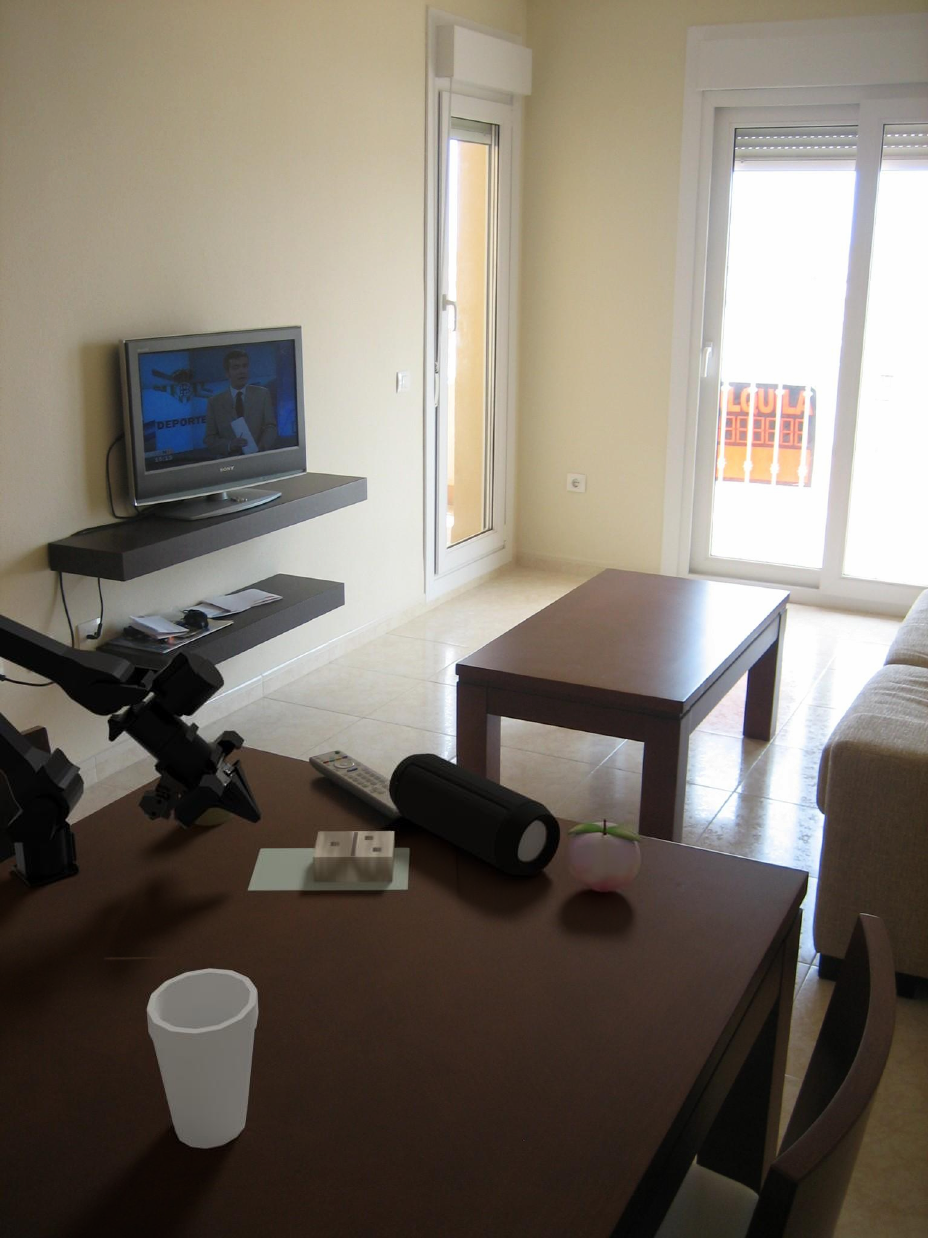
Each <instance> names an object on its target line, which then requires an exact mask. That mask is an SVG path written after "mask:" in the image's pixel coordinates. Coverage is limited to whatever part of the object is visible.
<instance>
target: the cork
mask: <svg viewBox="0 0 928 1238" xmlns="http://www.w3.org/2000/svg"><path fill="white" fill-rule="evenodd" d="M206 742H207V743H208V744H211V743H212V742H213V741H212V742H211V741H206ZM227 760H228V756H227V757H226V758H225V759H224V763H225V764H226V763H227ZM233 817H234V814H233V813H230V812H228V811H225V810H223V809H220V808H210V809H208V810H207V811H206V812H205V813H204V814H203V815H202V816H201V817H199V818H198V819H197V820H196V821H195V822H194V823H193V824H196V825H199V826H206V827H209V826H218V825H221V824H225V823H227V822H229V821H230V820H231V819H233Z"/></svg>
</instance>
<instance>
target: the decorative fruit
mask: <svg viewBox="0 0 928 1238" xmlns="http://www.w3.org/2000/svg"><path fill="white" fill-rule="evenodd" d="M568 835H573V836H572V837H571V839H570V841H569V844H568V848H567V852H566V862H567V863H566V864H567V866H568V870H569V872H570V873H571V875H573V877H574V878H575V879H576V880H577V881H579V883H581V884H582V885H584V886H586V887H587V888H589V889H591V890H593V891H596V892H600V893H608V892H612V891H616V890H617V889H621V888H623V887H624V886H626V885H627V884H629V883H630V882H631V881H633V879H635V877H636V876H637V874H638V873H639V872H640V869H641V864H642V862H641V861H642V858H641V850H640V845H639V844H638V843H643V842H644V841H643V840H642V839H641V837H640V836H639V834H637V832H635V831H634V830H632V829H631V828H630V827H628V826H623V825H619V824H617V823H614V822H613V823H612V822H608V821H607V819H606V818H603V821H599V822H597V821H596V822H592V823H591V822H585V823H581V824H578V825H576V826H574V827H573V828H571V829H570V830H568V831H567V832H566V836H568Z"/></svg>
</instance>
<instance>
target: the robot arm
mask: <svg viewBox="0 0 928 1238" xmlns="http://www.w3.org/2000/svg"><path fill="white" fill-rule="evenodd" d="M1 658H2V659H4V660H6V661H8V662H10V663H12V664H15V665H17V666H19V667H22V668H23V669H26V670H27V671H30V672H33V673H35V674H37V675H39V676H41V677H43V678H46V679H47V680H50V681H51V682H52V683H54V684H56V685H57V686H59V688H60V689H62V691H63V692H64V693H65V694H66V696H68V697H69V699H70V700H72V701H74V702H75V703H76V704H78V705H80V706H81V707H82V708H84V709H85V710H87V711H89V712H90V713H92V714H94V715H97V716H100V717H107V716H109V717H108V719H107V721H106V722H107V725H108V741H109V742H111V743H112V742H114V741H116V740H117V738H119V737H120V736H121V735H122V734H123V733H126V734H127V735H128V736H129V737H130V738H131V739H133V740H134V741H135V742H136V743H137V744H138V745H139V746H140V747H141V748H143V749H144V750H145V751H146V752H147V753H148V754H149V755H150V756H151V757H153V758H154V759H155V760H156V763H155V764H154V765H153V767H154V769H155V771H156V773H158V774H159V775H160V777H159V780H158V782H157V784H156V786H155V787H154V789H150V790H149V789H148V790H145V792H144V793H143V795H142V797H141V800H140V801H139V803H138V807H139V808H141V810H142V811H143V814H146V815H147V816H148V819H149V820H151V821H155V820H157V819H164V820H166V821H169V820H170V817H171V815H172V812H173V820H174V821H175V822H176V823H178V824H179V825H180V826H181V827H183V828H184V829H185V830H188V829H189V828H190V827H191V826H192V825H193V824H195V823H194V822H195V821H196V820H197V819H198V818H199V817H201V816H202V815H203V814H204V813H205V812H206V811H207V810H208V809H210V808H220V809H223V810H225V811H228V812H230V813H233V815H235V816H237V817H240V818H242V819H244V820H246V821H249V822H251V823H253V824H257V823H258V822H260V820H261V819H262V812H261V810H260V808H259V805H258V804H257V801H256V799H255V796H254V794H253V792H252V789H251V787H250V784H249V782H248V780H247V777H246V774H245V771H244V769H243V765H242V761H241V759H237V760H236V761H234V762H233V764H230V763H229V762H226V764H225V763H224V759H225V758H226V757H227V758H228V756H229V755H231V754H232V753H233V752H234V750H237V751H239V750H240V749H241V748H242V747H243V745H244V742H245V739H244V738H243V737H242V736H241V735H240V734H239V733H238V732H236V730H224V731H223V732H222V733H221V734H219V736H217V737H216V738H215V739H214V740H213V741H212V743H211V744H208V743H207V742H208V741H206V740H205V739H204V738H203V737H202V736H201V735H199V733H198V731H199V729H200V727H199V726H198V725H197V724H196V722H194V721H193V722H192V723H191V724H188V723H187V722H186V721H184V720H183V719H182V717H183V716H185V717H192V716H193V715H194V714H195V713H196V712H197V711H199V710H200V709H201V708H202V707H203V706H204V705H205V704H206V703H207V702H208V701H209V700H210V699H211V698H212V697H213V696H215V694H216V693H218V691H220V689H222V688H223V687H224V686H225V680H224V677H223V675H222V674H221V672H220V670H219V669H218V668H217V666H216V665H214V664H213V662H212V661H210V659H208V658H204V657H203V656H201V655H199V654H197V653H194V652H191V651H189V650H188V649H187V648H186V647H181V648H180V650H179V651H177V652H176V653H175V654H174V657H173V658H172V659H171V660H170V662H168V663H167V664H166V665H165V667H163V668H155V667H148V666H143V665H136V664H132V663H131V662H130V661H129V660H127V659H125V658H123V657H119V656H116V655H112V654H110V653H106V652H103V651H99V650H88V649H87V650H86V649H79V648H76V647H73V646H69V645H67V644H65V643H62V642H60V641H59V640H56V639H55V638H52V637H50V636H48V635H46V634H44V633H41V632H39V631H37V630H35V629H33V628H31V627H29V626H26V625H24V624H22V623H20V622H18V621H16V620H13V619H11V618H9V617H7V616H5V615H3V614H1V613H0V659H1ZM151 693H153V694H152V695H151V696H150V697H149V698H148V696H149V695H150V694H151ZM147 698H148V699H147ZM145 699H146V700H145ZM126 707H127V708H126ZM123 708H126V709H125V710H124V711H123V712H122V713H118V712H119V711H121V710H122V709H123ZM80 771H81V767H80V766H79V765H78V766H77V765H75V764H74V763H73V762H71V760H69V758H68V757H67V756H66V754H65V753H64V751H63V750H62V749H60V747H56V748H55V749H54V750H53V751H52V752H51V753H49V752H46V751H43V750H42V749H39V748H36V747H35V746H34V745H33V744H32V743H31V742H30V741H29V740H28V739H27V737H25V736H24V735H23V734H22V732H20V730H18V729H17V727H15V725H14V724H13V723H12V722H11V721H10V720H9V719H8V718H6V716H5V715H4V714H3V713H2V712H1V711H0V772H2V774H3V776H5V779H6V782H7V784H8V787H9V790H10V793H11V796H12V798H13V800H14V802H15V803H16V805H17V806H18V808H19V811H18V812H17V813H16V815H15V816H14V817H13V818H12V820H11V821H10V822H9V824H8V825H7V826H6V827H5V831H6V833H7V835H8V837H9V839H10V841H11V843H14V850H15V859H16V863H15V864H13V865H12V871H14V873H16V875H18V876H19V877H20V878H21V879H22V880H23V881H24V882H25V883H26V885H28V887H31V888H35V887H37V886H40V885H41V886H42V885H43V884H46V883H50V882H52V881H56V880H58V879H63V878H64V877H68V876H70V875H73V874H77V873H79V872H80V871H81V869H80V866H79V865H78V864H77V861H78V853H77V852H78V849H77V840H76V832H74V831H73V830H71V823H70V822H68V821H67V819H68V818H69V817H70V814H71V813H72V812H73V810H74V809H75V808H76V806H77V804H78V803H79V802H80V800H81V798H82V796H84V795H83V794H84V791H85V789H84V786H85V785H84V784H85V782H84V779H83V777H82V775H81V774H80V773H79V772H80Z"/></svg>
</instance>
